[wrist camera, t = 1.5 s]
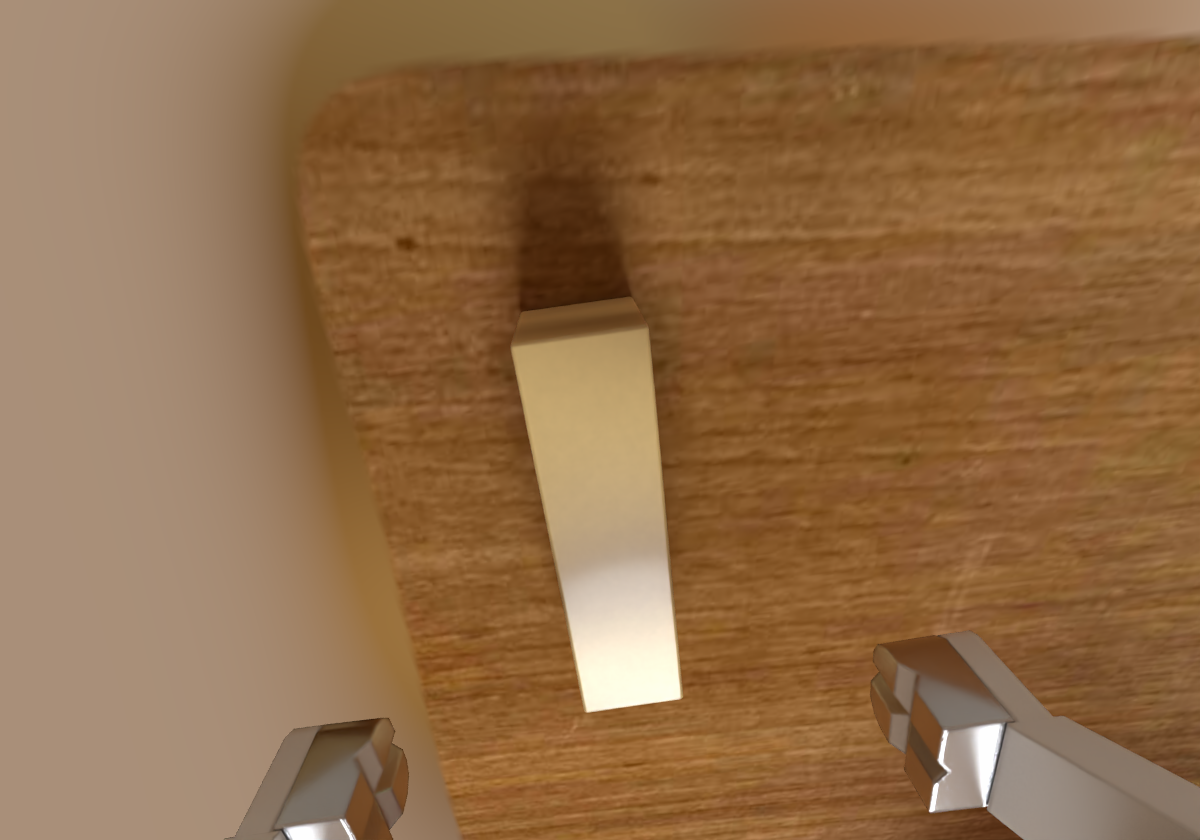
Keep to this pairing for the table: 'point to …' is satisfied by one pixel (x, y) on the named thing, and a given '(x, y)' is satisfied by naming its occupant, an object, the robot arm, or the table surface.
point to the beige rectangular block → (602, 494)
